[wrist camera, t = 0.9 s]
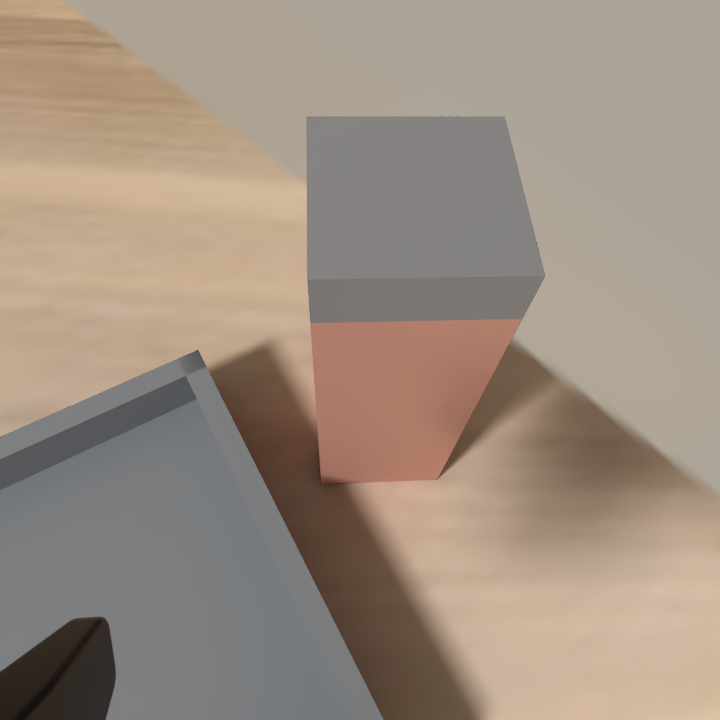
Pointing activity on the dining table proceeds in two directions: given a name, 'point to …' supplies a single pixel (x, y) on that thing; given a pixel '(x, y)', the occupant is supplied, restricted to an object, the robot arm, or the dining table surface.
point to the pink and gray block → (410, 284)
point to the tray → (167, 558)
